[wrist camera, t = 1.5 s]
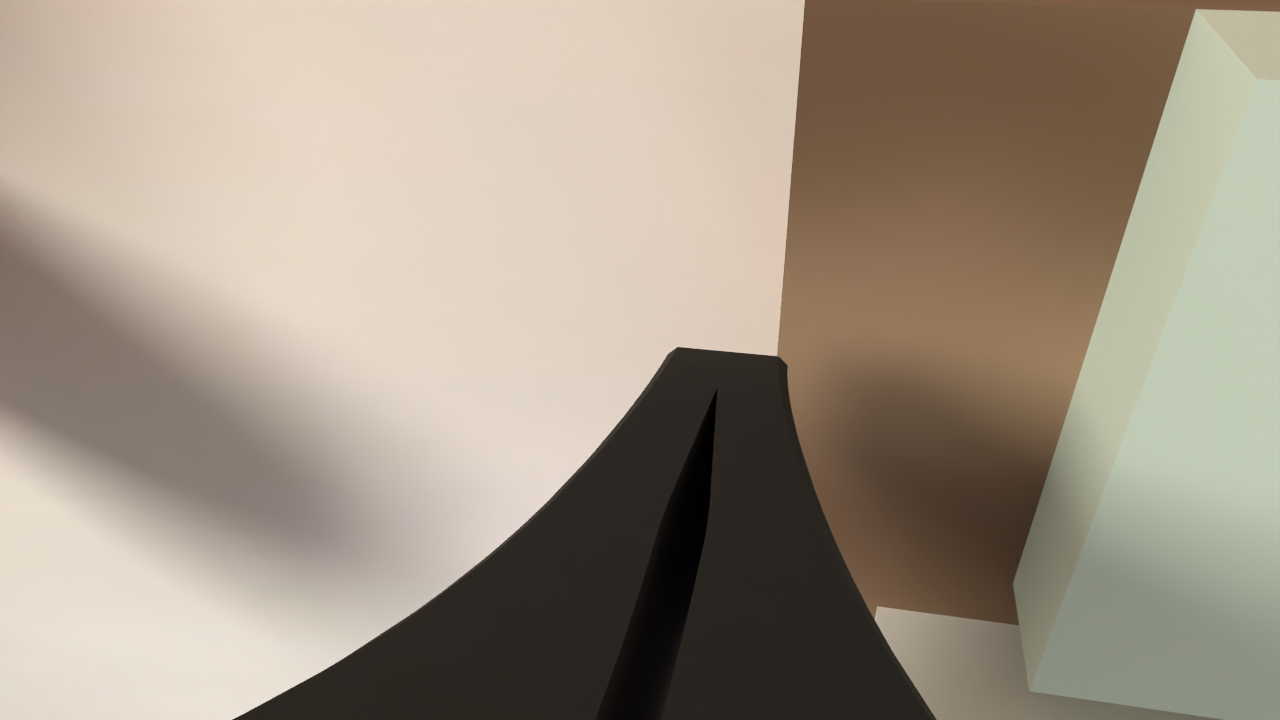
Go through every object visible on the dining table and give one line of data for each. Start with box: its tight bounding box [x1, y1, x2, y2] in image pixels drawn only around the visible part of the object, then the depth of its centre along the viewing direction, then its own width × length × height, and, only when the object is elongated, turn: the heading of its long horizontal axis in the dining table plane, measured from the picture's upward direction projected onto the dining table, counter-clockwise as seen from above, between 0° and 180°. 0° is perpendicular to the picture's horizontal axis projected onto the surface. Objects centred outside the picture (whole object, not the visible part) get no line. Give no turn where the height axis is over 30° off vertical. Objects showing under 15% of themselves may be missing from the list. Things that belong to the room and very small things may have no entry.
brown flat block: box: [777, 0, 1280, 625], centre depth 16 cm, size 16×12×4 cm
